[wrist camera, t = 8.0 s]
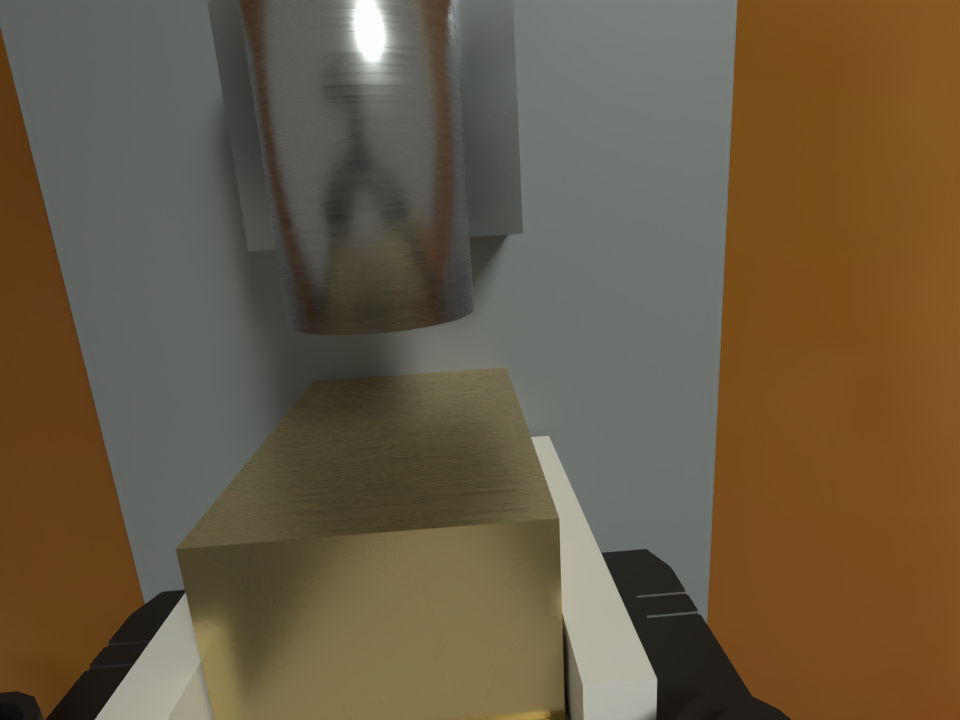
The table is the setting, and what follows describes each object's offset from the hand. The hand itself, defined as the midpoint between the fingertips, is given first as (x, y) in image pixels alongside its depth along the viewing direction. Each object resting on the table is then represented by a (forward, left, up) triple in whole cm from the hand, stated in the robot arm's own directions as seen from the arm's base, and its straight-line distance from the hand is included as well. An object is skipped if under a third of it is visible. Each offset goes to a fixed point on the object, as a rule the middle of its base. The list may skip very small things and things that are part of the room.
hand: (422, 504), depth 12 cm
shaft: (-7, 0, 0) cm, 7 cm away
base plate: (+1, 0, -2) cm, 2 cm away
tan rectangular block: (0, 0, 0) cm, 0 cm away
